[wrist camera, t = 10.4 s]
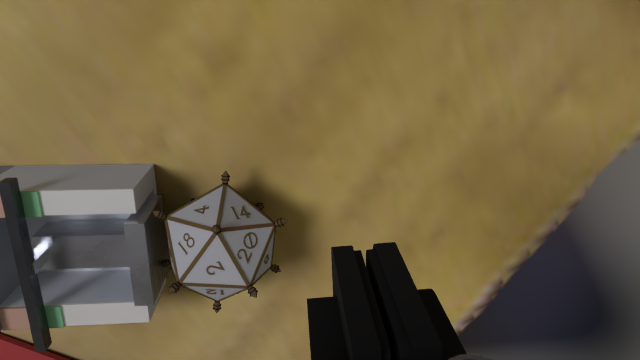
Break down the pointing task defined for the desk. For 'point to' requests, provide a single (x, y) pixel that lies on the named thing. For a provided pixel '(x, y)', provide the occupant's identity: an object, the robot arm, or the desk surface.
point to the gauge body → (75, 205)
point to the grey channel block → (85, 252)
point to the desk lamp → (23, 351)
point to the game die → (219, 244)
